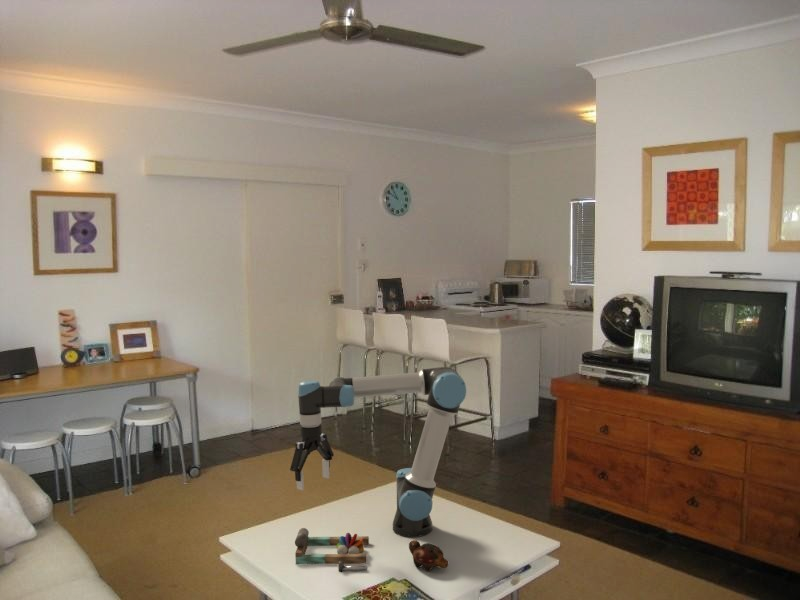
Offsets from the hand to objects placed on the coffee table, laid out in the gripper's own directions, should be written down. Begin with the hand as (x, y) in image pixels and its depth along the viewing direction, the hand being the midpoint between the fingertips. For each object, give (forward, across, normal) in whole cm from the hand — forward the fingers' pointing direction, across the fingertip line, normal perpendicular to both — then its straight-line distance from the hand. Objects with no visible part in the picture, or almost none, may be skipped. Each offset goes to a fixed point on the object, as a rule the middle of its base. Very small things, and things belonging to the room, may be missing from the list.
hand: (313, 483), depth 238 cm
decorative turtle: (+25, -10, +41) cm, 49 cm away
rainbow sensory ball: (+24, -4, +13) cm, 28 cm away
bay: (+24, 0, +8) cm, 25 cm away
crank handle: (+24, +6, +22) cm, 33 cm away
